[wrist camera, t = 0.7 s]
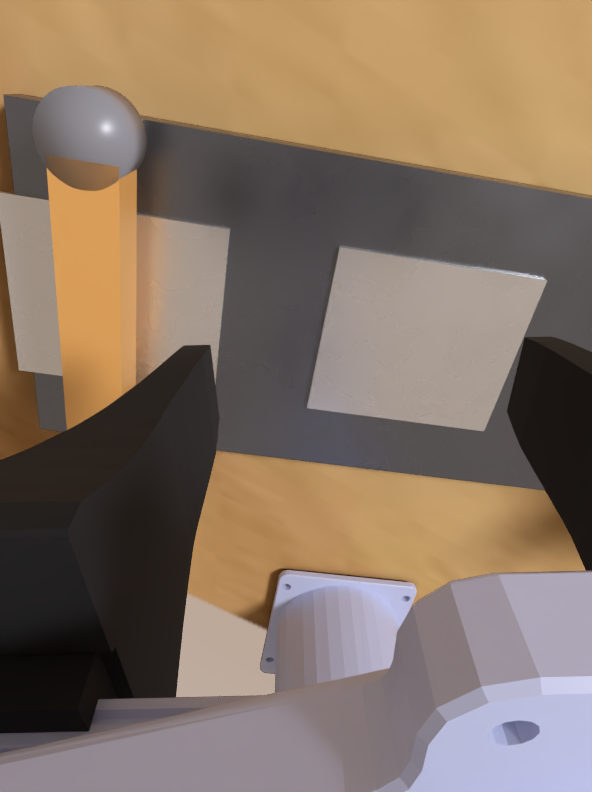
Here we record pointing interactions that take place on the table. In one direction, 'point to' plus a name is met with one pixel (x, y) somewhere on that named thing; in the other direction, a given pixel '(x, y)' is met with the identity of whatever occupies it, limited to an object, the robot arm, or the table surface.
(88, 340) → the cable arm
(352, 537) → the table surface
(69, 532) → the robot arm
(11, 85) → the table surface
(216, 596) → the table surface
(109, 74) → the table surface
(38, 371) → the psu panel
